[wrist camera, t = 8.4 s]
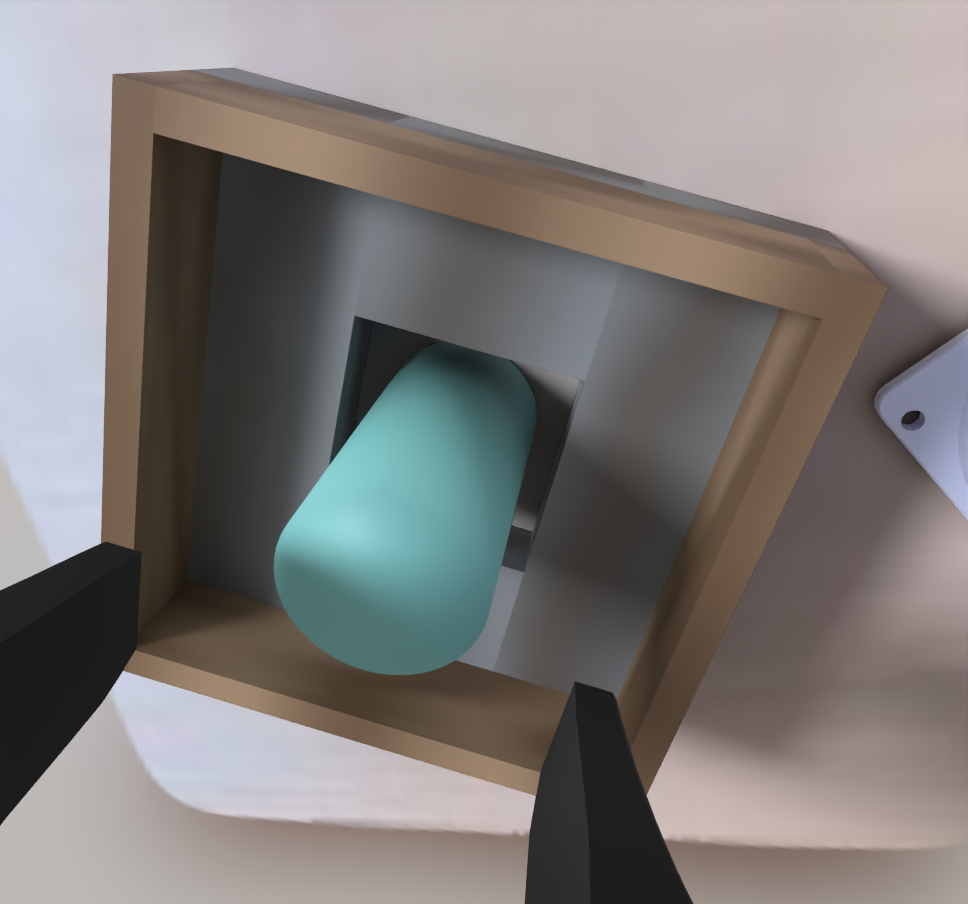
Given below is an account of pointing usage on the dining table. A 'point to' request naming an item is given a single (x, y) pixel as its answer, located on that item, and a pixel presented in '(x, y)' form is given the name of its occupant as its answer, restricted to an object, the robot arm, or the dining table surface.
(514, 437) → the peg
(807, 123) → the dining table surface
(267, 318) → the socket box
